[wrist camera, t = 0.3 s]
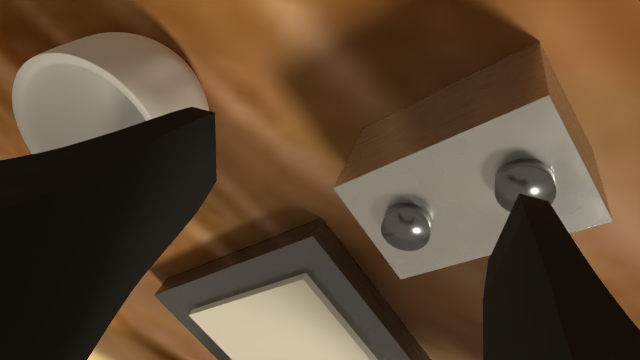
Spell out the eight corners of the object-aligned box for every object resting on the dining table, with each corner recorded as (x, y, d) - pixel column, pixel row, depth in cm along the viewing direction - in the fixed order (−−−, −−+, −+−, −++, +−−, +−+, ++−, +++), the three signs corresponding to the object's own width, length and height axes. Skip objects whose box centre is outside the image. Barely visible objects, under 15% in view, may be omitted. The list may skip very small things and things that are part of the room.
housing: (591, 145, 19) (616, 233, 15) (417, 207, 24) (398, 290, 19) (539, 39, 18) (550, 103, 13) (363, 127, 22) (328, 197, 18)
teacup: (80, -1, 23) (-16, 35, 19) (228, 28, 21) (160, 75, 17) (116, 170, 29) (50, 226, 25) (233, 202, 27) (184, 268, 23)
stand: (447, 381, 30) (444, 410, 29) (285, 402, 38) (276, 426, 36) (321, 218, 26) (309, 242, 24) (166, 279, 33) (150, 300, 32)
